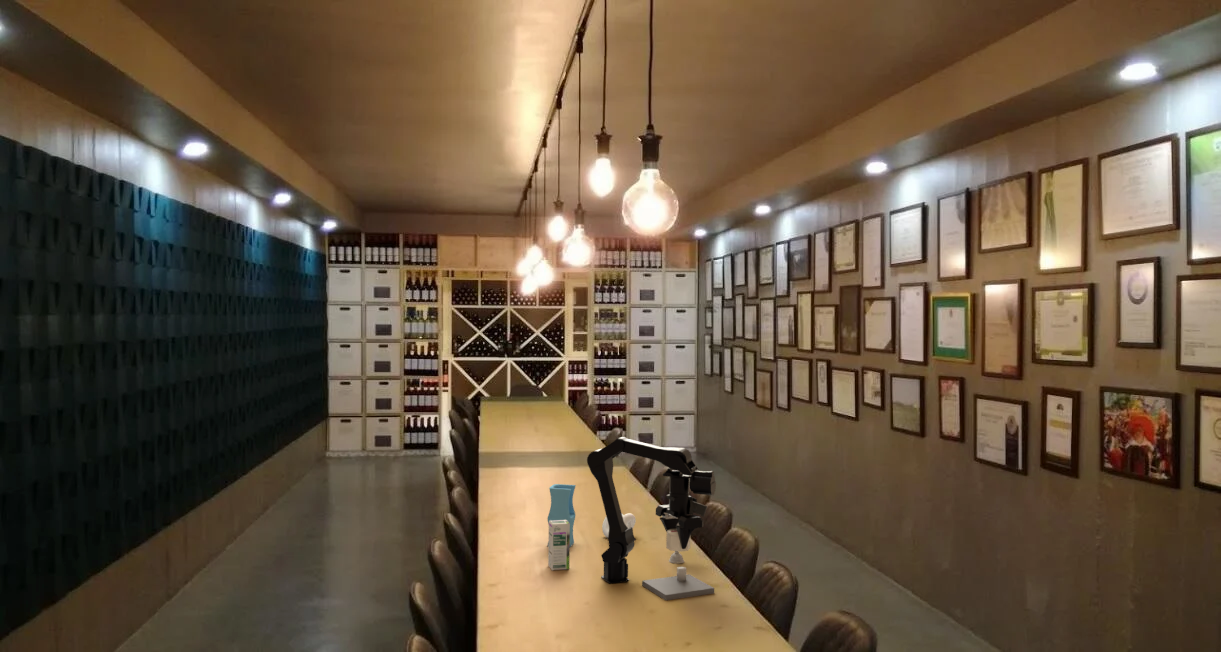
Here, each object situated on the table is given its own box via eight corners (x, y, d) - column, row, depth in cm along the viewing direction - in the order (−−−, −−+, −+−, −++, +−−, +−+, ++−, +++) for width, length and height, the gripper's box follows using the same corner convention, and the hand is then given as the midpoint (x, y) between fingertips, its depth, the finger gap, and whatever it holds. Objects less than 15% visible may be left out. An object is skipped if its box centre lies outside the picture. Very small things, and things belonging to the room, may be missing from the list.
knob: (673, 552, 238) (673, 534, 238) (662, 546, 245) (663, 528, 245) (693, 550, 241) (694, 532, 241) (682, 544, 247) (683, 526, 247)
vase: (569, 548, 284) (570, 489, 284) (547, 546, 286) (548, 488, 286) (574, 542, 292) (575, 485, 292) (553, 540, 294) (554, 483, 294)
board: (665, 600, 232) (665, 582, 232) (642, 585, 245) (642, 568, 245) (714, 593, 239) (714, 575, 239) (689, 579, 252) (689, 562, 252)
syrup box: (551, 570, 258) (552, 524, 258) (547, 565, 264) (548, 519, 264) (569, 569, 260) (570, 523, 260) (565, 564, 265) (566, 518, 265)
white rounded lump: (595, 539, 297) (595, 513, 297) (610, 531, 307) (611, 507, 307) (623, 543, 291) (623, 518, 291) (638, 536, 302) (638, 511, 302)
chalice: (669, 564, 266) (670, 508, 266) (662, 558, 273) (663, 504, 273) (690, 563, 268) (691, 507, 268) (683, 557, 275) (684, 503, 275)
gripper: (719, 496, 238) (718, 551, 238) (687, 484, 255) (686, 535, 255) (685, 499, 233) (684, 555, 233) (655, 486, 250) (654, 538, 250)
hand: (678, 545), depth 243 cm, fingers closed on knob, 6 cm apart
